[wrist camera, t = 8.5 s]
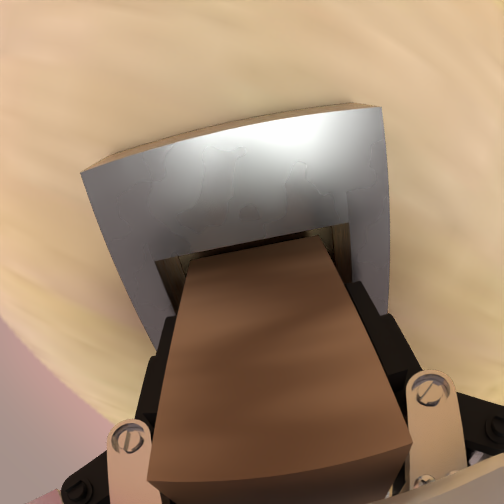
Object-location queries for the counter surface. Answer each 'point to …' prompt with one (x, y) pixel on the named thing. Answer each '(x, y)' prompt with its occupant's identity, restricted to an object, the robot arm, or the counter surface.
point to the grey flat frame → (246, 198)
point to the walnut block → (274, 387)
